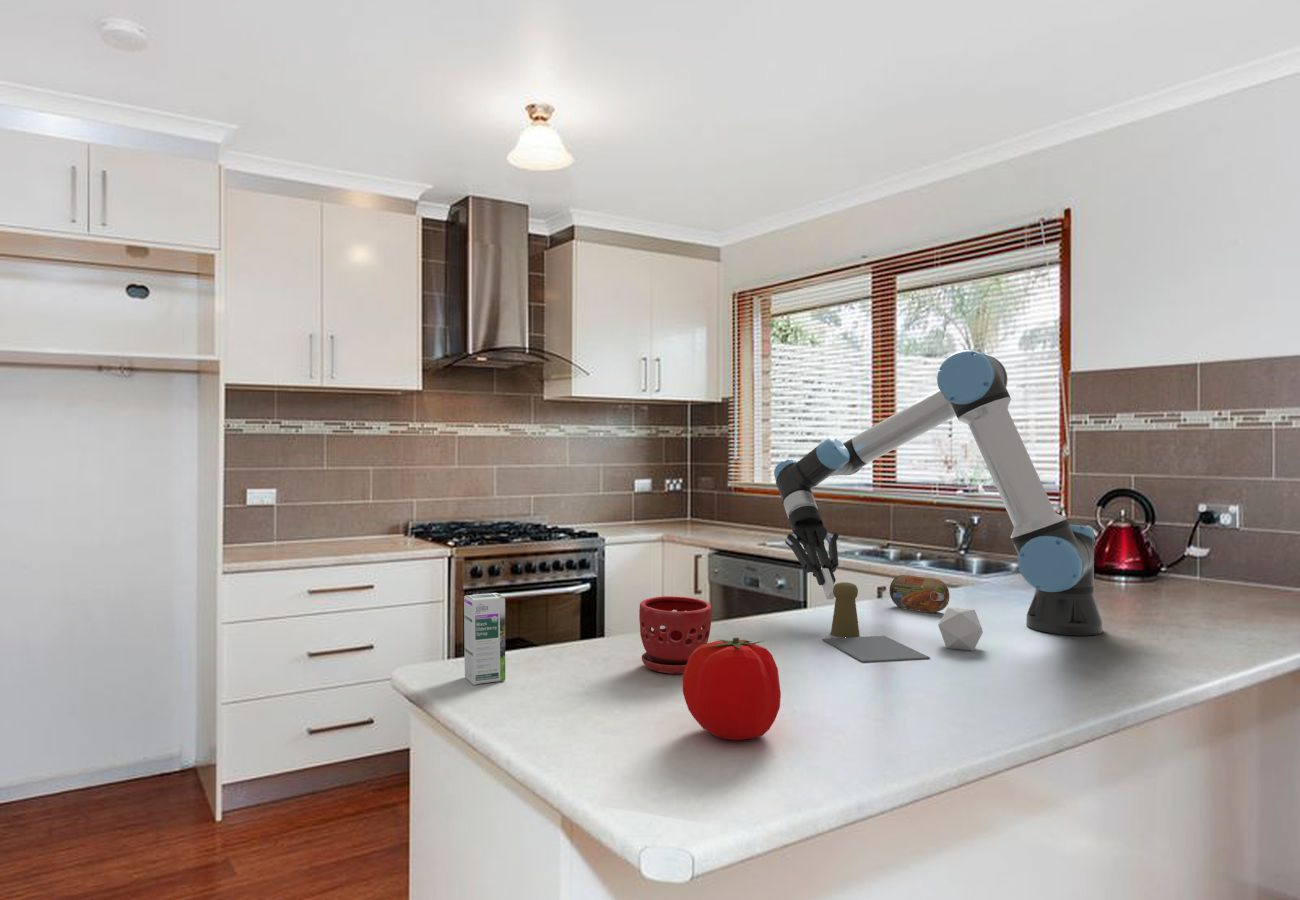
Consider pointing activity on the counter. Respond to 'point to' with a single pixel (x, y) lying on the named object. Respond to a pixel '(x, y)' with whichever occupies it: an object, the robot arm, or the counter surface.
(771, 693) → the tomato
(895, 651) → the mat
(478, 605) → the syrup box
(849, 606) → the cork
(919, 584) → the tin
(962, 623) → the die
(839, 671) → the counter surface
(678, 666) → the plant pot
